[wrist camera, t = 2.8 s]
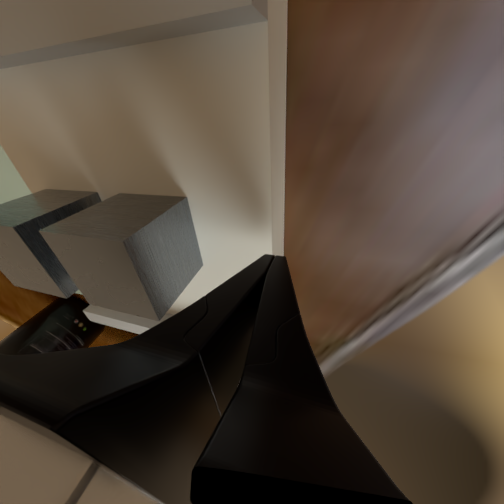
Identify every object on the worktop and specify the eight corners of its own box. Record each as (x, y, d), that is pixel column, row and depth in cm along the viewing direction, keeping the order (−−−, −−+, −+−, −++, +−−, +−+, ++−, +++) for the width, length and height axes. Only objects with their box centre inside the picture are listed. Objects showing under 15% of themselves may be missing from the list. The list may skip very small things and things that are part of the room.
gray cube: (126, 253, 14) (66, 298, 11) (79, 246, 15) (14, 285, 12) (97, 191, 12) (12, 227, 9) (45, 189, 13) (-46, 219, 10)
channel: (282, 314, 17) (268, 369, 14) (129, 283, 22) (89, 320, 18) (287, -7, 8) (247, -85, 4) (12, 51, 12) (-120, 35, 9)
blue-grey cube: (203, 264, 13) (159, 321, 10) (145, 256, 14) (89, 304, 11) (187, 196, 10) (122, 241, 7) (119, 193, 11) (38, 230, 8)
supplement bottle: (91, 332, 32) (-9, 429, 23) (52, 298, 29) (-79, 393, 20) (116, 328, 29) (10, 441, 19) (75, 289, 26) (-70, 399, 17)
